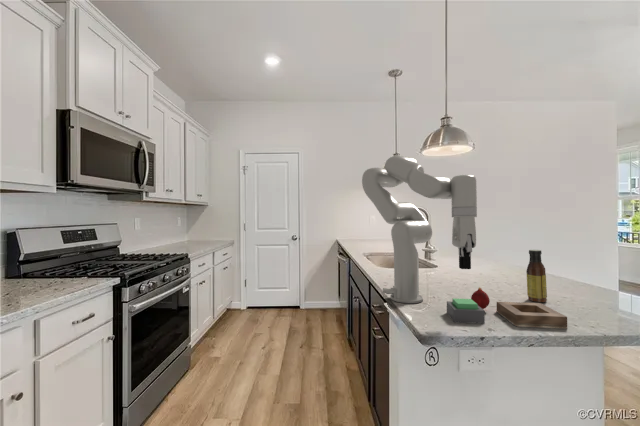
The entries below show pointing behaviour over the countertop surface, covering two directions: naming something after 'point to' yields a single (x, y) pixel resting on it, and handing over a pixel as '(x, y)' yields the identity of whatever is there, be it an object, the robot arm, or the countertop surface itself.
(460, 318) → the button housing
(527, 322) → the open box
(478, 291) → the onion
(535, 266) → the sauce bottle
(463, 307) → the button
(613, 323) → the countertop surface
